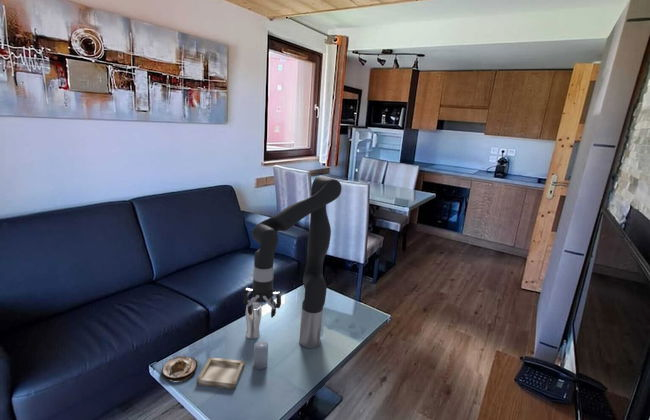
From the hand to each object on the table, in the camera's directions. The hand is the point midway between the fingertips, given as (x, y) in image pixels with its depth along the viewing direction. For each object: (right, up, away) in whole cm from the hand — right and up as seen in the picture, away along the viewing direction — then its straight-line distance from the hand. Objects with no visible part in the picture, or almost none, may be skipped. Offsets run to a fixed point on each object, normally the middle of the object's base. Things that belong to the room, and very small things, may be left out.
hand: (261, 315), depth 129 cm
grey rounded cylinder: (-1, -22, +5) cm, 22 cm away
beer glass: (-8, -17, +23) cm, 29 cm away
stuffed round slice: (-31, -21, -2) cm, 37 cm away
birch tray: (-15, -22, -2) cm, 27 cm away
